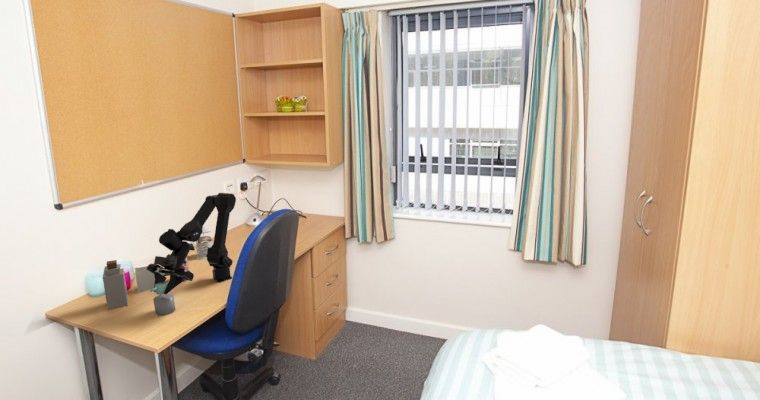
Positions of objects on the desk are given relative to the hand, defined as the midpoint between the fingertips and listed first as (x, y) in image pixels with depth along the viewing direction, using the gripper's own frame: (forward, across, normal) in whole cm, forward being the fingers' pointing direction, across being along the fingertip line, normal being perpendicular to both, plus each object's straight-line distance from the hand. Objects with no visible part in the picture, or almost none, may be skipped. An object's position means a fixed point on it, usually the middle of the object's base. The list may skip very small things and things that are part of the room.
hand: (159, 293), depth 167 cm
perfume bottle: (+6, -23, +6) cm, 24 cm away
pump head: (+1, 0, +2) cm, 2 cm away
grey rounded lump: (+5, 0, +7) cm, 8 cm away
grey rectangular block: (-4, -24, +16) cm, 29 cm away
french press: (-33, -29, +45) cm, 63 cm away
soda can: (-13, -17, +25) cm, 33 cm away
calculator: (-16, -30, +28) cm, 45 cm away
